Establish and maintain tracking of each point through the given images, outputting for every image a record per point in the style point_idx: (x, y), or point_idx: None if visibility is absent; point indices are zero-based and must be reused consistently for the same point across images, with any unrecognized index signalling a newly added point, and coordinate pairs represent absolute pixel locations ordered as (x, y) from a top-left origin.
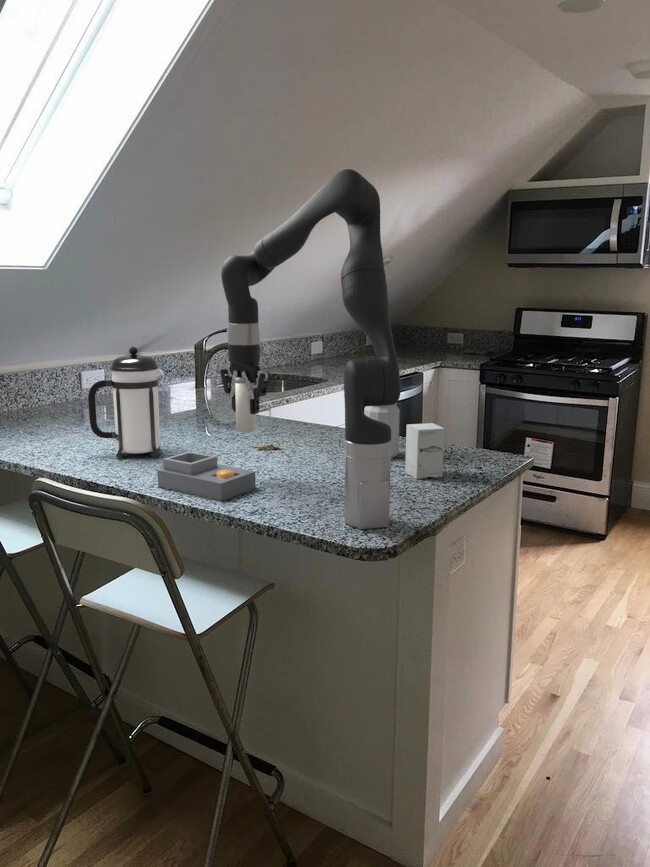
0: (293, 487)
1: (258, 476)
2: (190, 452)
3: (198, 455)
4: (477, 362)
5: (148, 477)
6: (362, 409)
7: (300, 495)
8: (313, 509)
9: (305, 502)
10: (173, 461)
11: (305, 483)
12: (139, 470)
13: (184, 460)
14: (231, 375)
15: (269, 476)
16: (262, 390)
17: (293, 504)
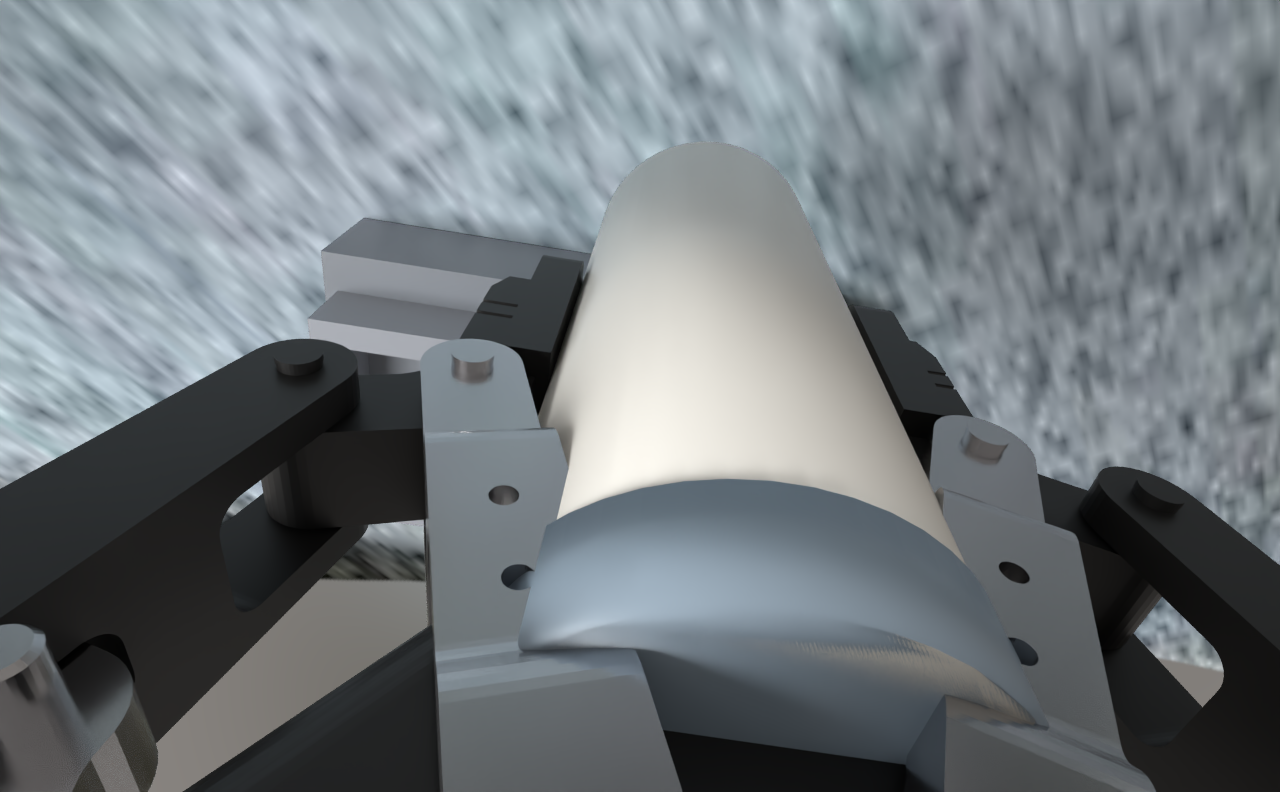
0: (1053, 190)
1: (741, 56)
2: (335, 339)
3: (420, 356)
4: None
5: (208, 350)
6: None
7: (1125, 309)
8: (1223, 463)
9: (1170, 396)
10: (413, 522)
11: (1119, 70)
12: (41, 262)
13: (358, 372)
14: (130, 702)
15: (814, 18)
16: (1154, 571)
17: (1112, 439)
